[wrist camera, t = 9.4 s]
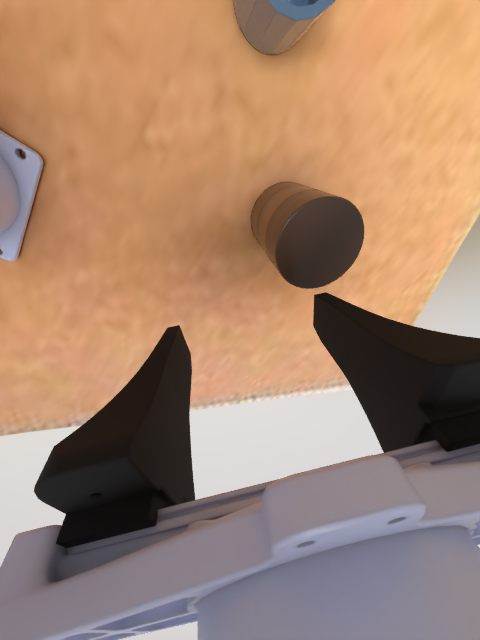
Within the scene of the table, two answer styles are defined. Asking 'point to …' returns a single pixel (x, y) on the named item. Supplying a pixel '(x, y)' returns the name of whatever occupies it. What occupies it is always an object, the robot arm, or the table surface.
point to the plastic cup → (277, 21)
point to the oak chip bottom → (263, 200)
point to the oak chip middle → (271, 208)
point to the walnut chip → (314, 238)
